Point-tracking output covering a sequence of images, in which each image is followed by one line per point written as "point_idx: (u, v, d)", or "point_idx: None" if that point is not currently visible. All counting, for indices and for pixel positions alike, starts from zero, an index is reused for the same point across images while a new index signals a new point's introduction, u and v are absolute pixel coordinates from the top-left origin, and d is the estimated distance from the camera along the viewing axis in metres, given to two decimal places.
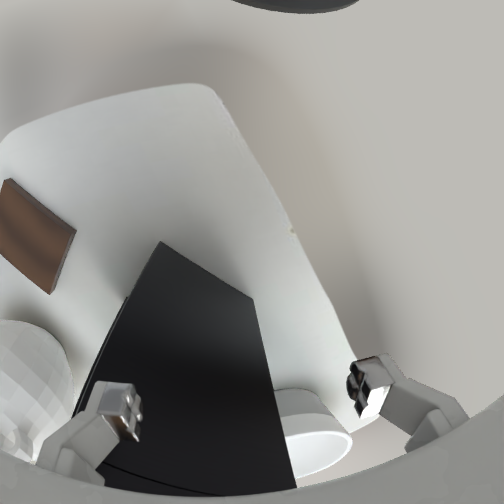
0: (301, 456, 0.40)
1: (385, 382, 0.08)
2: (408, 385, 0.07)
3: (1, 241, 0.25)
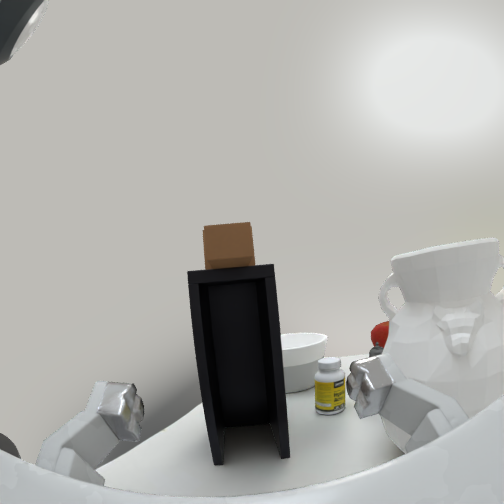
0: None
1: (385, 382, 0.08)
2: (407, 385, 0.07)
3: None
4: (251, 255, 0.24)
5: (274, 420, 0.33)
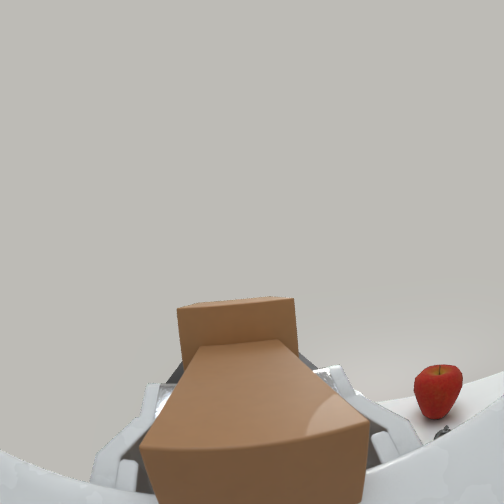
0: None
1: None
2: (356, 402, 0.07)
3: None
4: None
5: None
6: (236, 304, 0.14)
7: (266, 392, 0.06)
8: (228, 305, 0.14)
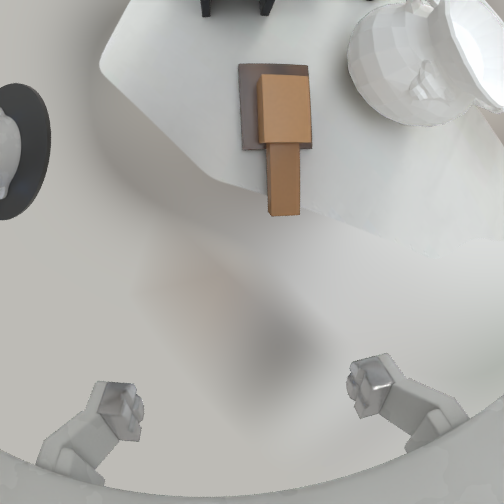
0: None
1: (385, 382, 0.08)
2: (408, 385, 0.07)
3: None
4: None
5: None
6: (288, 141, 0.32)
7: (289, 197, 0.37)
8: (285, 142, 0.32)
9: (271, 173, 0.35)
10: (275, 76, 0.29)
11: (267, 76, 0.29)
